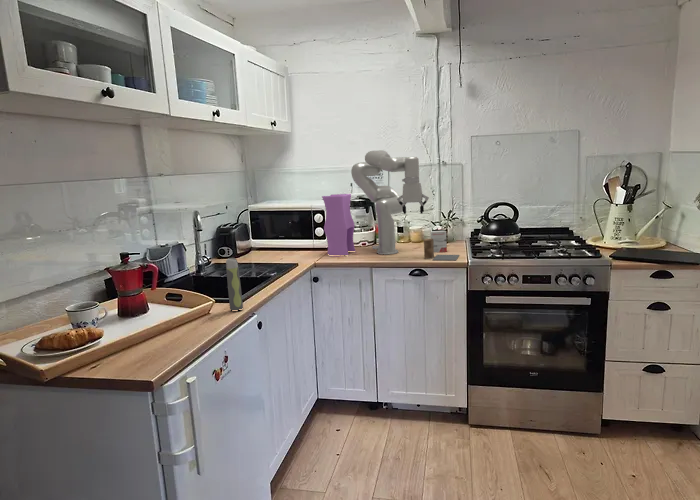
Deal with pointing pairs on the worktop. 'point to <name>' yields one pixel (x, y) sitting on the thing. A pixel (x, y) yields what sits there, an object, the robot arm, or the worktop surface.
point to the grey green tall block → (234, 284)
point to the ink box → (439, 241)
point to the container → (339, 224)
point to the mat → (446, 257)
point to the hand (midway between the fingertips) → (413, 213)
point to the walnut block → (428, 248)
